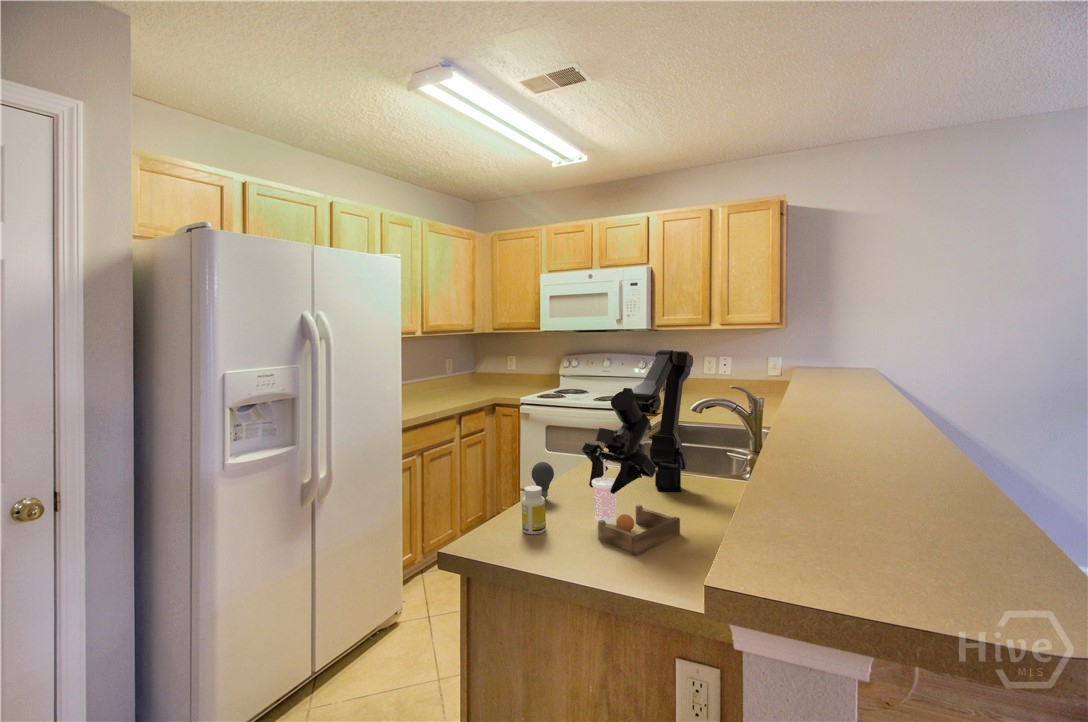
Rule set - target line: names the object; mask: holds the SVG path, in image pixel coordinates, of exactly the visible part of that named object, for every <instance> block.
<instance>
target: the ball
mask: <svg viewBox="0 0 1088 722" xmlns="http://www.w3.org/2000/svg"><path fill="white" fill-rule="evenodd" d="M615 521H616V522H615V524H616V527H617V528H620V529H622V530H625V531H628V532H632V531H633V530H634V527H635V520H634V518H633V517H632V516H631V515H630V514H627V513H624V514H621V515H619V516H618V517H617V519H616V520H615Z"/></svg>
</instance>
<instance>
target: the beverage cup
mask: <svg viewBox="0 0 1088 722" xmlns="http://www.w3.org/2000/svg"><path fill="white" fill-rule="evenodd" d="M603 464H604V475H603V476H602V477H600V478H595V479H593V480H592V486H593V488H592V493H593V504H594V505H593V506H594V515H595V516H594V517H595V521H597V522H598V521H599V520H605V521H606V524H609V523H613V522H615V521H616V517H617V516H616V515H617V511H616V510H617V496H618V495H617V492H618V491H617V492H616V493H615V494H612V493H611V492H610V491H611V488H612V485H613V483H614V481H615V479H616V478H615V477H614V478H613V477H609V476H608V477H607V476H606V474H607V471H606V466H607V461H606V460H603Z"/></svg>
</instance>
